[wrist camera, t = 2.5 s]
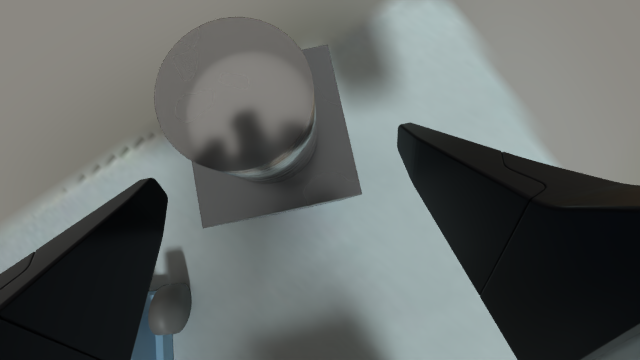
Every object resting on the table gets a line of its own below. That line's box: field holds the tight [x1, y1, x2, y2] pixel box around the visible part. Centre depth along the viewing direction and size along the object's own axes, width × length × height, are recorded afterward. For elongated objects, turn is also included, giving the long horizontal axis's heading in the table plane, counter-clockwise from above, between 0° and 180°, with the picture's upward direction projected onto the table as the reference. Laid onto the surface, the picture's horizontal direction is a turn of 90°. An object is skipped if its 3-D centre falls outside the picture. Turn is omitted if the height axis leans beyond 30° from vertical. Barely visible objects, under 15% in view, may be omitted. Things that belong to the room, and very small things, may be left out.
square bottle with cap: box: [154, 17, 362, 228], centre depth 12 cm, size 5×5×13 cm
